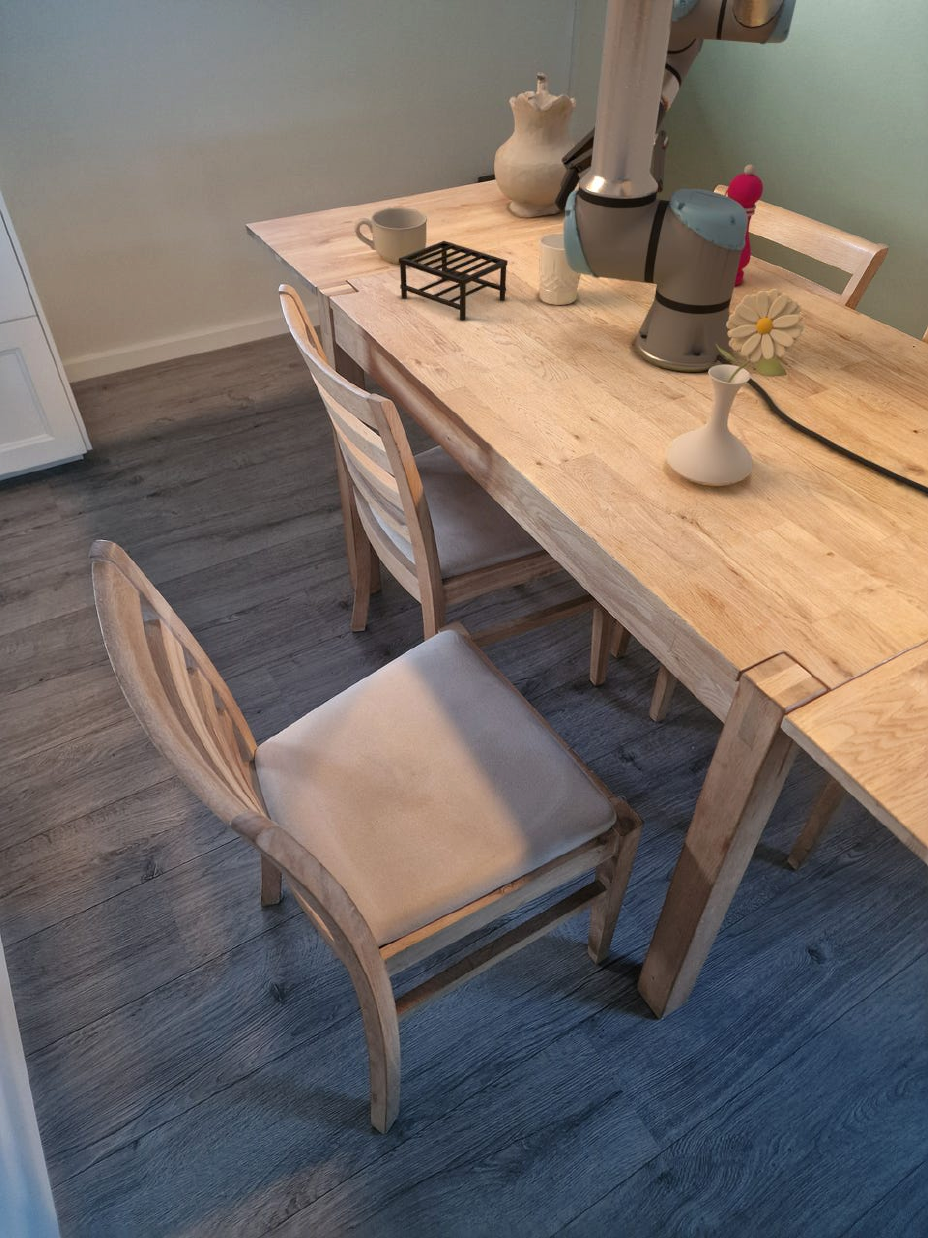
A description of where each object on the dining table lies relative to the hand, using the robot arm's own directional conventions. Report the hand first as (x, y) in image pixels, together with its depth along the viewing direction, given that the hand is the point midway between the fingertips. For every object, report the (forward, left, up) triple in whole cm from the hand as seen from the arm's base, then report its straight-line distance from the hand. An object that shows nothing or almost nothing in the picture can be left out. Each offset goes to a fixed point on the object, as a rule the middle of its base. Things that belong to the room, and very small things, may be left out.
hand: (589, 215), depth 148 cm
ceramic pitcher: (+34, -30, -13) cm, 47 cm away
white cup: (0, +8, -13) cm, 15 cm away
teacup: (+36, +14, -13) cm, 41 cm away
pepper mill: (-19, -20, -13) cm, 30 cm away
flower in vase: (-49, +41, -13) cm, 65 cm away
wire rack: (+14, +21, -12) cm, 28 cm away
